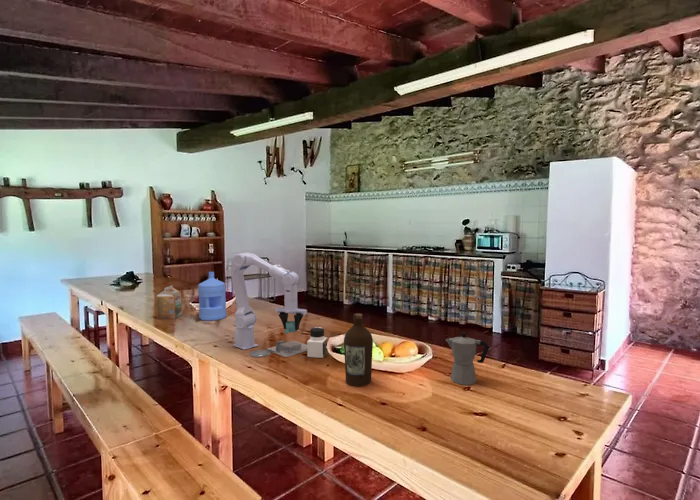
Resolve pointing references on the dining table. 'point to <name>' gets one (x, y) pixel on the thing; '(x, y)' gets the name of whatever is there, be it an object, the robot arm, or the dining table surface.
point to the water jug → (212, 299)
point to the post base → (284, 352)
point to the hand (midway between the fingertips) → (291, 329)
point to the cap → (290, 327)
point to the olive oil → (358, 353)
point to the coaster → (260, 353)
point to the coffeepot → (465, 358)
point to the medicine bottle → (317, 343)
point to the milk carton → (169, 304)
